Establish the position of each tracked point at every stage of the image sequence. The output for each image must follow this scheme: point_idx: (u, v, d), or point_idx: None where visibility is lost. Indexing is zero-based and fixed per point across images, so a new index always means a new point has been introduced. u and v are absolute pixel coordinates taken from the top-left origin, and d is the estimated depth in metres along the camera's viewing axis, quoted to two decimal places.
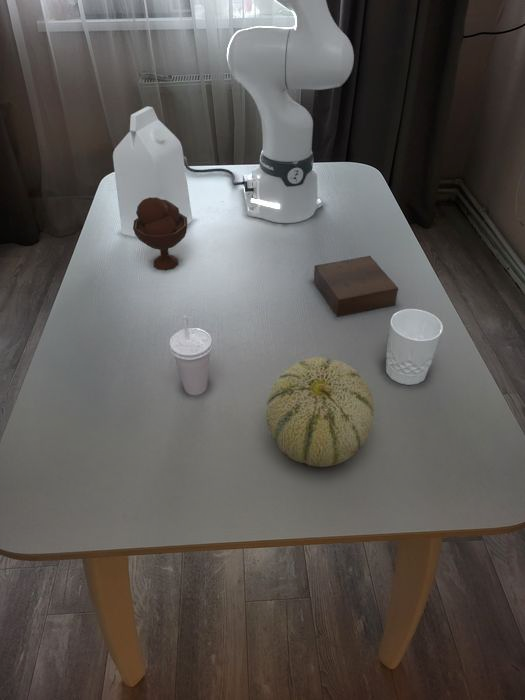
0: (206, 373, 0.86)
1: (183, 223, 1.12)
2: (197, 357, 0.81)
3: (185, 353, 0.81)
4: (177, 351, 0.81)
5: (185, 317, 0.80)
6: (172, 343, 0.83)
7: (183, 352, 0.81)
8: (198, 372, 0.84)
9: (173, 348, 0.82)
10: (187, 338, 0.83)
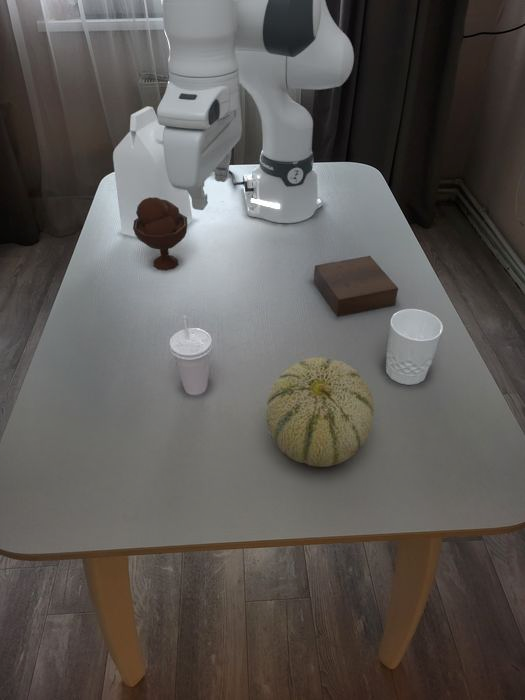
0: (206, 373, 0.86)
1: (183, 223, 1.12)
2: (197, 357, 0.81)
3: (185, 353, 0.81)
4: (177, 351, 0.81)
5: (185, 317, 0.80)
6: (172, 343, 0.83)
7: (183, 352, 0.81)
8: (198, 372, 0.84)
9: (173, 348, 0.82)
10: (187, 338, 0.83)
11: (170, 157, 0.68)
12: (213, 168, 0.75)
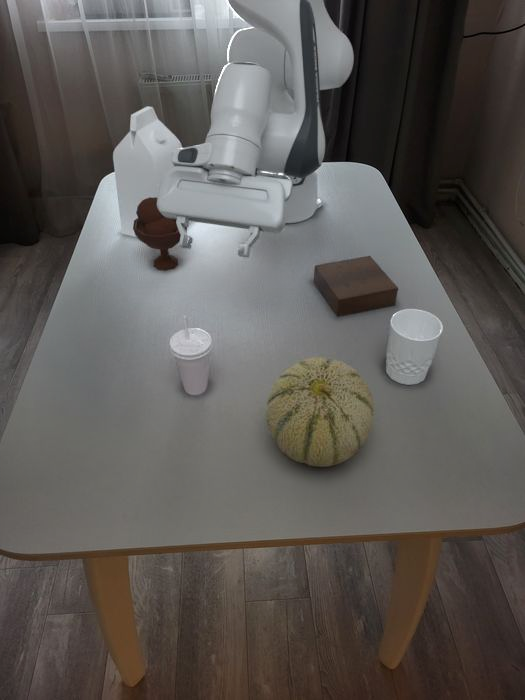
0: (206, 373, 0.86)
1: None
2: (197, 357, 0.81)
3: (185, 353, 0.81)
4: (177, 351, 0.81)
5: (185, 317, 0.80)
6: (172, 343, 0.83)
7: (183, 352, 0.81)
8: (198, 372, 0.84)
9: (173, 348, 0.82)
10: (187, 338, 0.83)
11: None
12: (196, 212, 0.85)
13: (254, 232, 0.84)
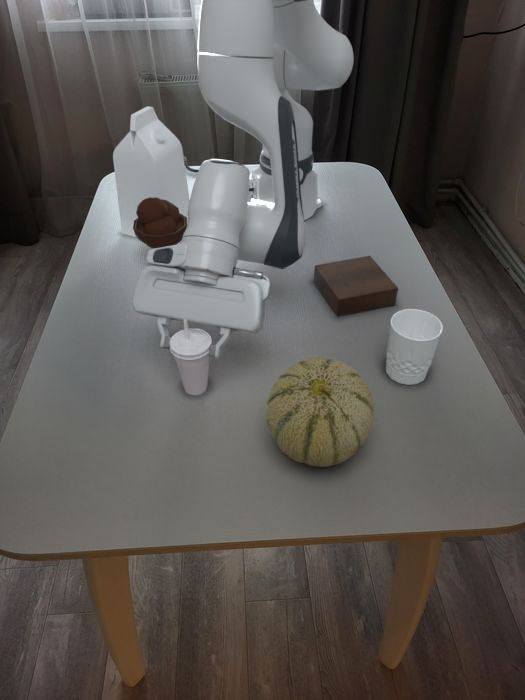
0: (206, 373, 0.86)
1: (183, 223, 1.12)
2: (197, 357, 0.81)
3: (185, 354, 0.81)
4: (177, 351, 0.81)
5: (185, 317, 0.80)
6: (172, 343, 0.83)
7: (183, 352, 0.81)
8: (198, 372, 0.84)
9: (173, 348, 0.82)
10: (187, 338, 0.83)
11: None
12: (171, 313, 0.83)
13: (225, 334, 0.82)
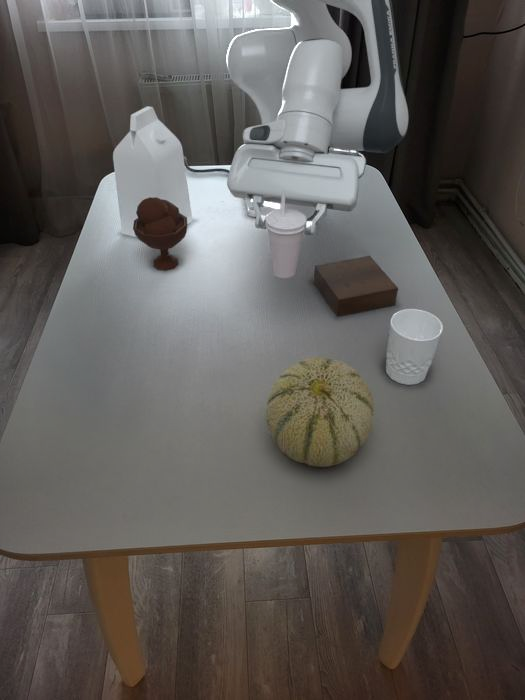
0: (298, 254, 0.88)
1: (183, 223, 1.12)
2: (294, 232, 0.83)
3: (283, 228, 0.83)
4: (275, 226, 0.83)
5: (284, 191, 0.82)
6: (268, 220, 0.84)
7: (281, 227, 0.83)
8: (292, 250, 0.86)
9: (270, 223, 0.83)
10: (283, 215, 0.84)
11: None
12: (267, 191, 0.84)
13: (321, 209, 0.83)
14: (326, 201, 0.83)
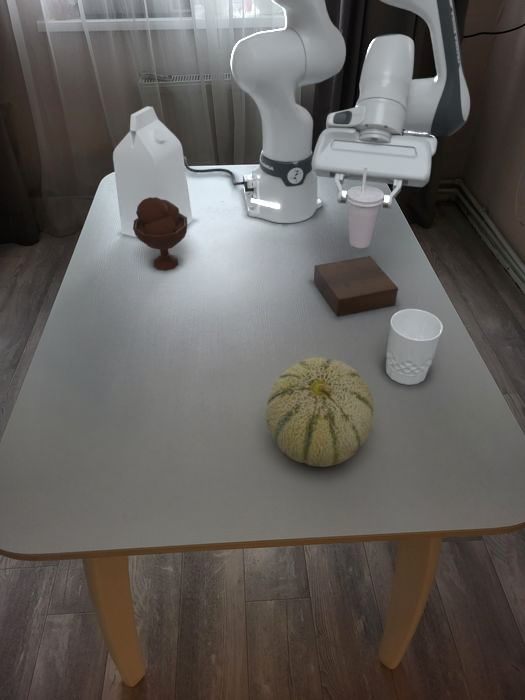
0: (374, 226, 0.98)
1: (183, 223, 1.12)
2: (374, 204, 0.93)
3: (365, 201, 0.93)
4: (357, 199, 0.93)
5: (366, 168, 0.92)
6: (350, 194, 0.95)
7: (363, 200, 0.93)
8: (371, 222, 0.96)
9: (353, 197, 0.94)
10: (363, 190, 0.95)
11: None
12: (349, 169, 0.95)
13: (398, 185, 0.94)
14: (403, 177, 0.93)
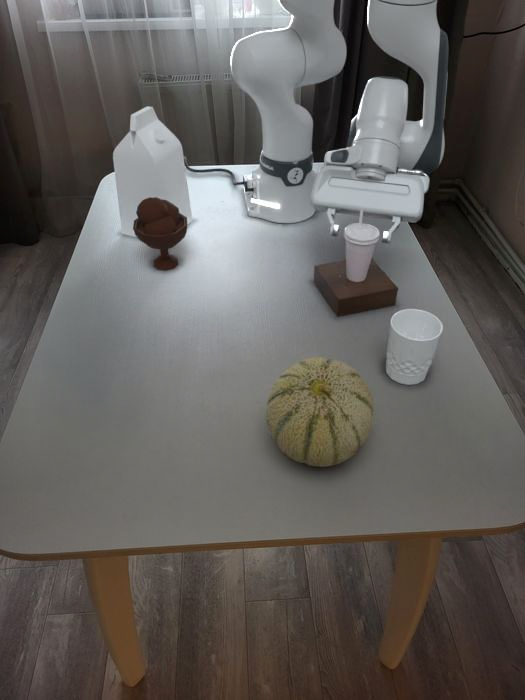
0: (370, 261, 1.03)
1: (183, 223, 1.12)
2: (370, 243, 0.98)
3: (361, 239, 0.98)
4: (354, 237, 0.98)
5: (362, 208, 0.97)
6: (347, 232, 1.00)
7: (359, 238, 0.98)
8: (366, 258, 1.01)
9: (350, 235, 0.99)
10: (360, 228, 1.00)
11: None
12: (345, 205, 1.00)
13: (397, 221, 0.98)
14: (397, 214, 0.98)
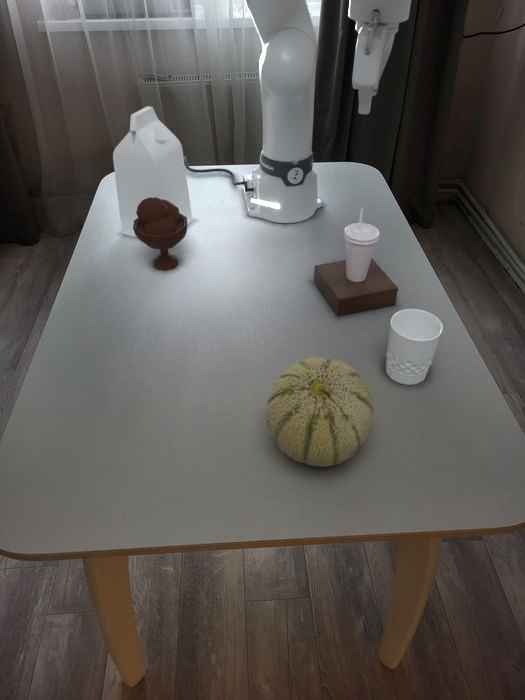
0: (370, 261, 1.03)
1: (183, 223, 1.12)
2: (370, 243, 0.98)
3: (361, 239, 0.98)
4: (354, 237, 0.98)
5: (362, 208, 0.97)
6: (347, 232, 1.00)
7: (359, 238, 0.98)
8: (366, 258, 1.01)
9: (350, 235, 0.99)
10: (360, 228, 1.00)
11: None
12: None
13: (359, 89, 0.84)
14: None
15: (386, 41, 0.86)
